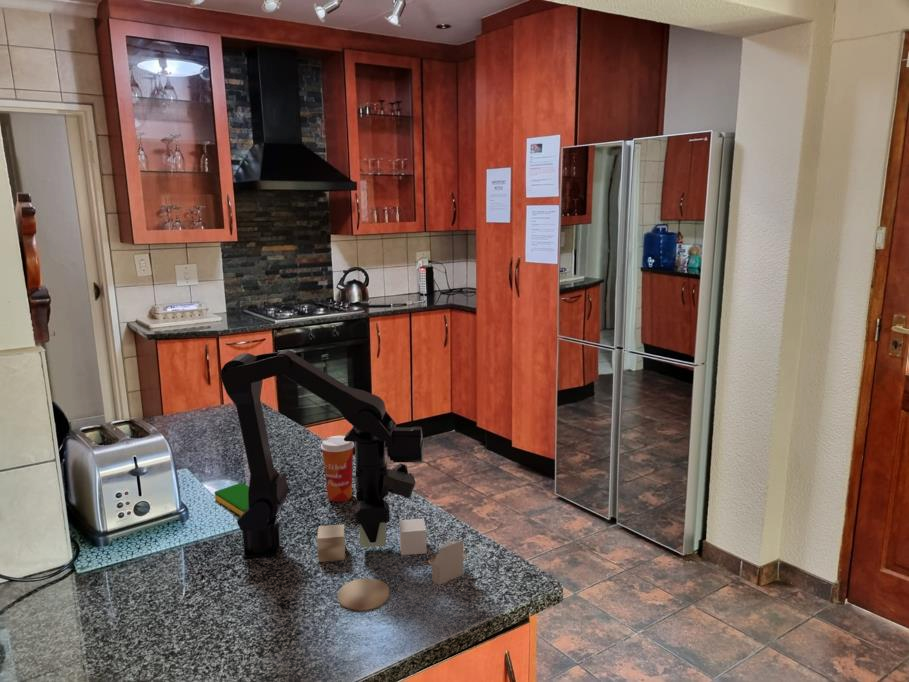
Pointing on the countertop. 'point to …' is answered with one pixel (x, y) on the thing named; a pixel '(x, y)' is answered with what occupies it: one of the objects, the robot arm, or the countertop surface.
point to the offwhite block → (412, 536)
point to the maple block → (331, 543)
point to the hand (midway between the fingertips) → (372, 535)
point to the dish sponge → (234, 497)
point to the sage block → (379, 541)
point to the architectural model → (448, 562)
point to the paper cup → (338, 467)
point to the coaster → (363, 594)
